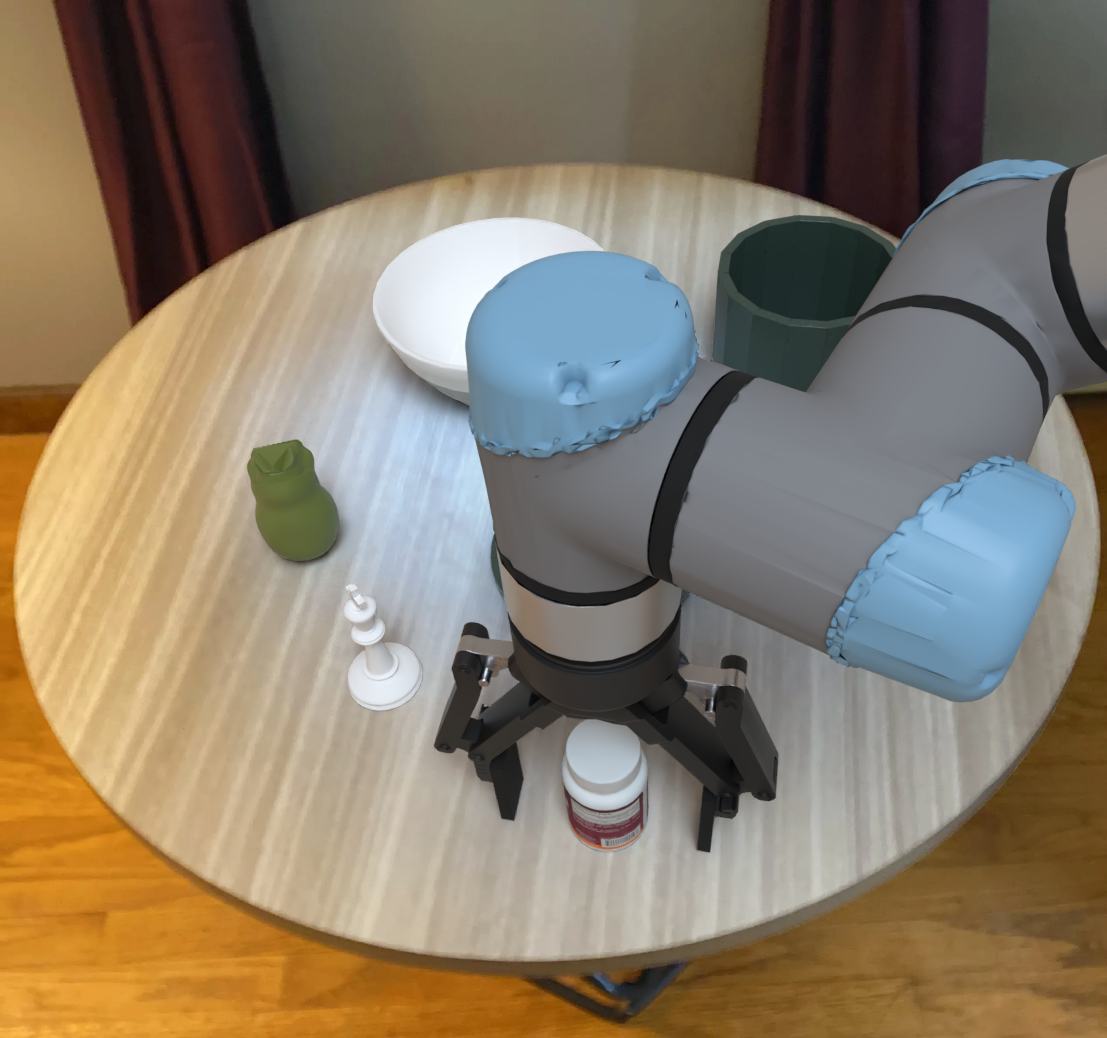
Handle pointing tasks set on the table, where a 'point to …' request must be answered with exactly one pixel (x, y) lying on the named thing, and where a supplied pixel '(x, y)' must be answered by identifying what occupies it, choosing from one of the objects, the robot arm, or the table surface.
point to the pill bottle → (605, 785)
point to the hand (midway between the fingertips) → (607, 813)
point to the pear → (292, 501)
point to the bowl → (457, 289)
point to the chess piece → (378, 659)
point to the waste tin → (793, 294)
